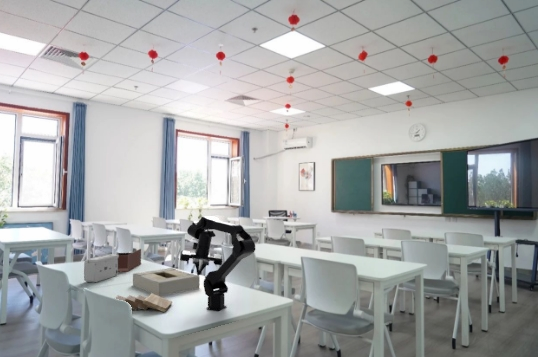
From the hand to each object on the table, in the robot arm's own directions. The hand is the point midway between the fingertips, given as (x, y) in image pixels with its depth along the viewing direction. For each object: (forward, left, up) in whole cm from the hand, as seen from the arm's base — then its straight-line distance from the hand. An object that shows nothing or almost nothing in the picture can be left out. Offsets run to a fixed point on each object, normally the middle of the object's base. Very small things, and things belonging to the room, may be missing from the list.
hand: (198, 275), depth 167 cm
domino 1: (+18, +18, -11) cm, 28 cm away
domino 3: (+11, +14, -12) cm, 21 cm away
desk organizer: (+96, -47, -13) cm, 107 cm away
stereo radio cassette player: (+83, -16, -13) cm, 85 cm away
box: (+35, -17, -13) cm, 41 cm away
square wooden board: (+6, +12, -12) cm, 18 cm away
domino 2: (+14, +16, -12) cm, 25 cm away
